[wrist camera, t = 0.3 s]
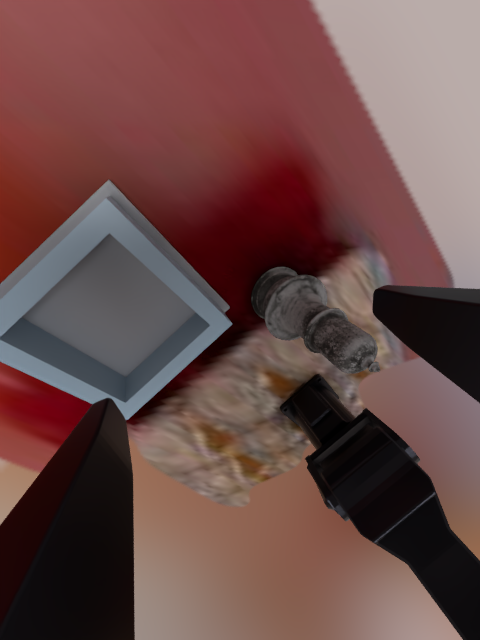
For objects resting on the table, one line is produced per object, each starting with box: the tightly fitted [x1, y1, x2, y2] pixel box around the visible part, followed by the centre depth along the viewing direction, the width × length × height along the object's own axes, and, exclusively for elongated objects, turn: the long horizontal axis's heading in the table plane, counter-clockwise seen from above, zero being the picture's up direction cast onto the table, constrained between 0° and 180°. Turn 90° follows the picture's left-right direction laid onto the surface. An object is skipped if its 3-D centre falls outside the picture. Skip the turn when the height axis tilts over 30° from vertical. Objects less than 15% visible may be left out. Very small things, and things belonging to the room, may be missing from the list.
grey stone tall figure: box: [251, 267, 380, 373], centre depth 19 cm, size 6×6×12 cm
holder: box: [0, 180, 232, 420], centre depth 18 cm, size 12×12×4 cm
